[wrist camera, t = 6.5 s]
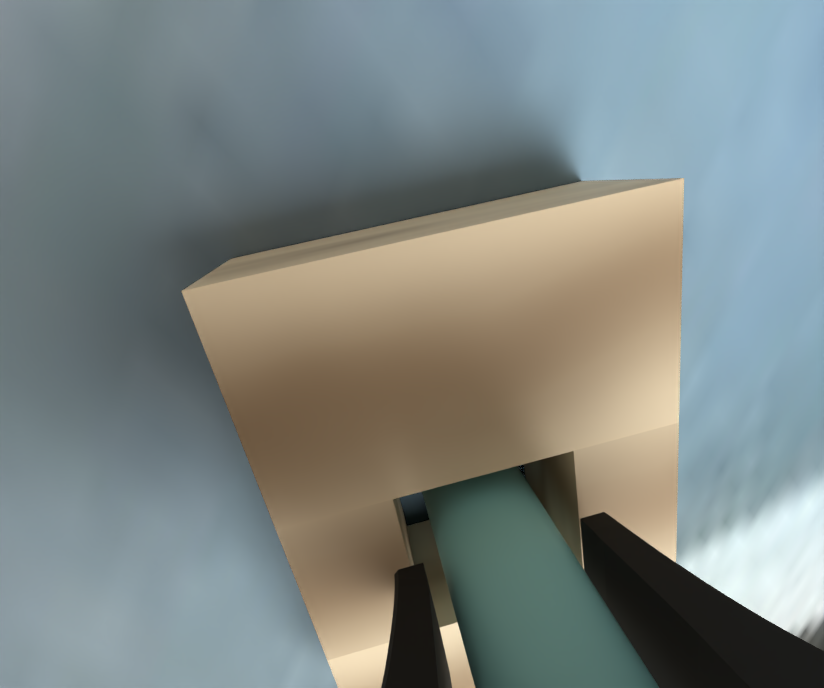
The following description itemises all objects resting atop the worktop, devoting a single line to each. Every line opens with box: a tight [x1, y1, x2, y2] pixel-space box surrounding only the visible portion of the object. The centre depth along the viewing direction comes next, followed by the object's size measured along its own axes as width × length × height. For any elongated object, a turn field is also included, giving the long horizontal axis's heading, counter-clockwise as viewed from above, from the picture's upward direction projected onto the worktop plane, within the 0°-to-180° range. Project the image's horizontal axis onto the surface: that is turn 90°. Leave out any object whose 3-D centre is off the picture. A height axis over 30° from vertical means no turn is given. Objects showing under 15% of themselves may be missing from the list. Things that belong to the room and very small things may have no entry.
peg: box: [422, 466, 659, 688], centre depth 11 cm, size 3×3×9 cm
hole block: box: [181, 178, 684, 688], centre depth 13 cm, size 16×10×4 cm, turn 11°
